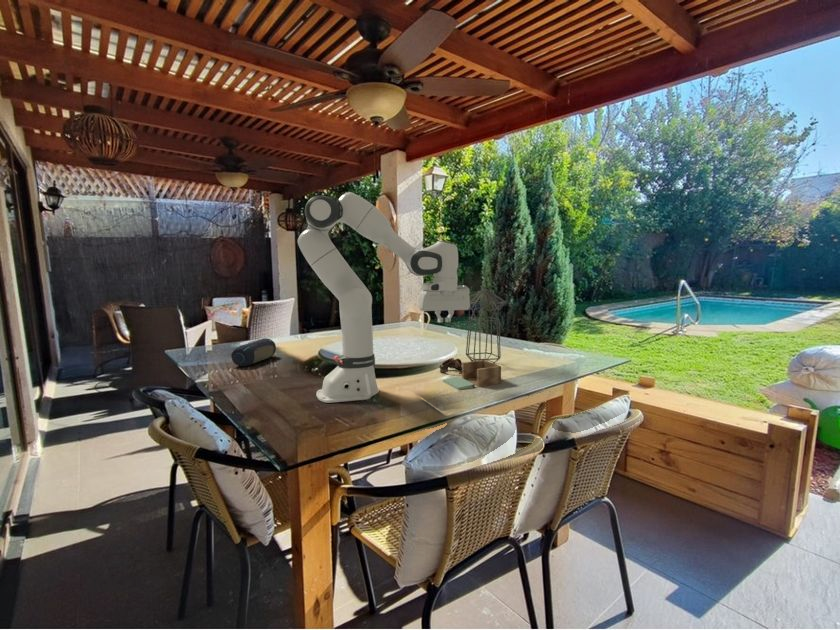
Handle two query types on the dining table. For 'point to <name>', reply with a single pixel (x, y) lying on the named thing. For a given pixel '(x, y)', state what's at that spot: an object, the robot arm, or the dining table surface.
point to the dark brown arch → (451, 365)
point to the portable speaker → (253, 352)
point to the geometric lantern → (489, 294)
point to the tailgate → (459, 383)
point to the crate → (481, 373)
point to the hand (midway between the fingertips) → (444, 322)
